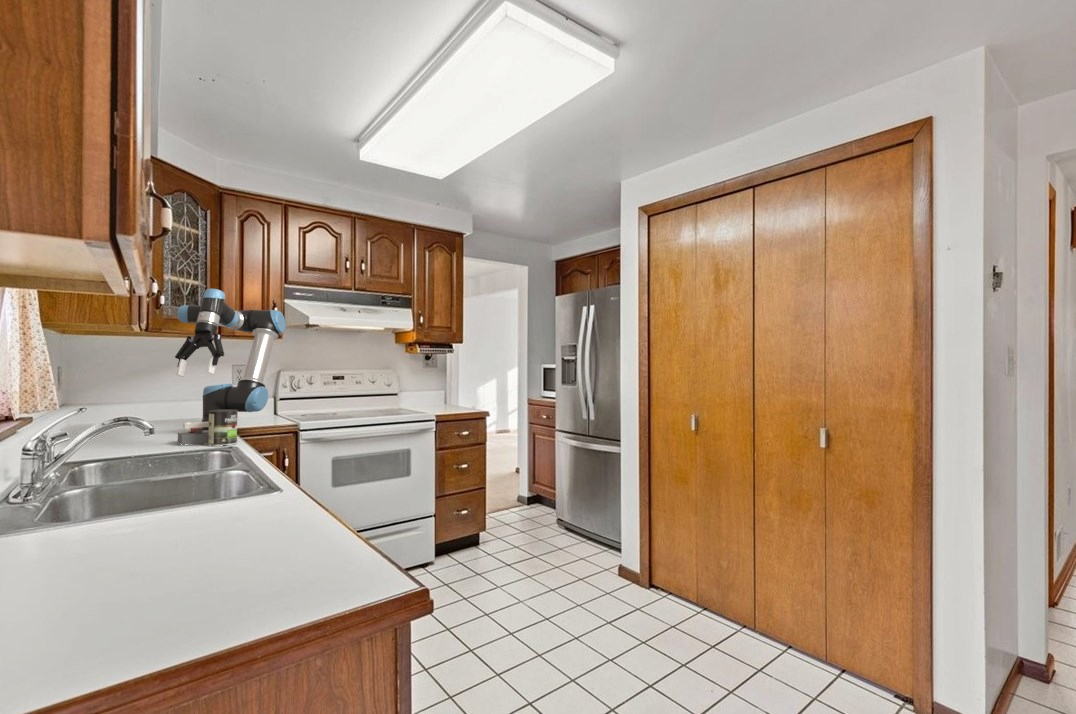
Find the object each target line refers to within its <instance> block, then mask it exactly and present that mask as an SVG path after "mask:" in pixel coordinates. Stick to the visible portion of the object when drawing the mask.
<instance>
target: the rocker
mask: <svg viewBox="0 0 1076 714" xmlns="http://www.w3.org/2000/svg"><path fill="white" fill-rule="evenodd" d="M182 424H183V426H182V427H183V428H184V429H190V428H201V427H209V422H201V421H197V422H196V421H194V422H190V421H189V422H188V421H187V422H184V423H182Z"/></svg>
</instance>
